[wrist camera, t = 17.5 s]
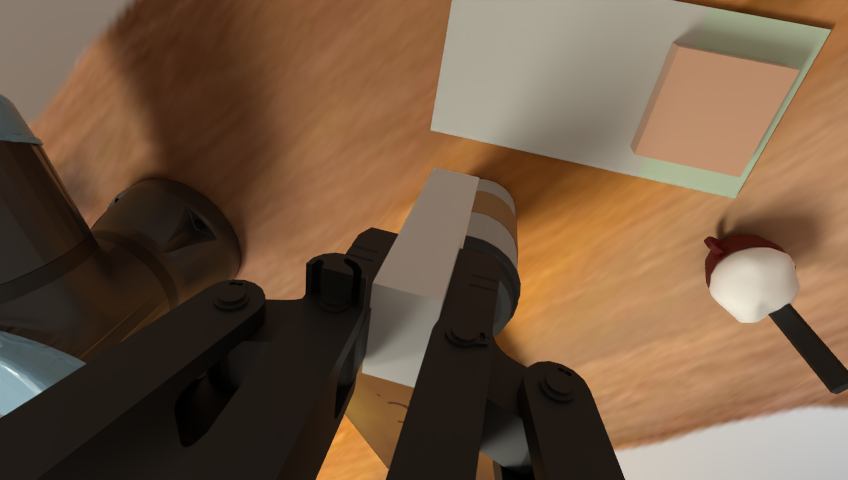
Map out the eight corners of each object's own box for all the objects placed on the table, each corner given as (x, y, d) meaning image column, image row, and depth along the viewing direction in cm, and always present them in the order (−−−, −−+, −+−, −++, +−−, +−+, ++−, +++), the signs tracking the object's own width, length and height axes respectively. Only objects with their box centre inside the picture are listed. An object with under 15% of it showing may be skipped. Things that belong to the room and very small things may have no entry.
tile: (634, 154, 37) (740, 177, 36) (679, 46, 33) (800, 70, 32) (630, 145, 39) (730, 167, 38) (672, 42, 34) (786, 64, 34)
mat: (431, 128, 42) (430, 130, 42) (459, -40, 35) (458, -40, 35) (733, 196, 39) (735, 198, 39) (827, 29, 32) (831, 29, 32)
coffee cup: (472, 148, 42) (442, 228, 29) (545, 202, 43) (546, 302, 31) (422, 212, 46) (376, 305, 34) (489, 260, 48) (469, 367, 35)
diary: (542, 434, 59) (542, 476, 55) (417, 454, 67) (407, 493, 62) (461, 295, 51) (452, 331, 46) (328, 337, 59) (309, 371, 54)
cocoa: (683, 229, 42) (716, 310, 32) (763, 202, 39) (828, 281, 29) (719, 310, 45) (760, 408, 35) (796, 290, 42) (866, 390, 32)
